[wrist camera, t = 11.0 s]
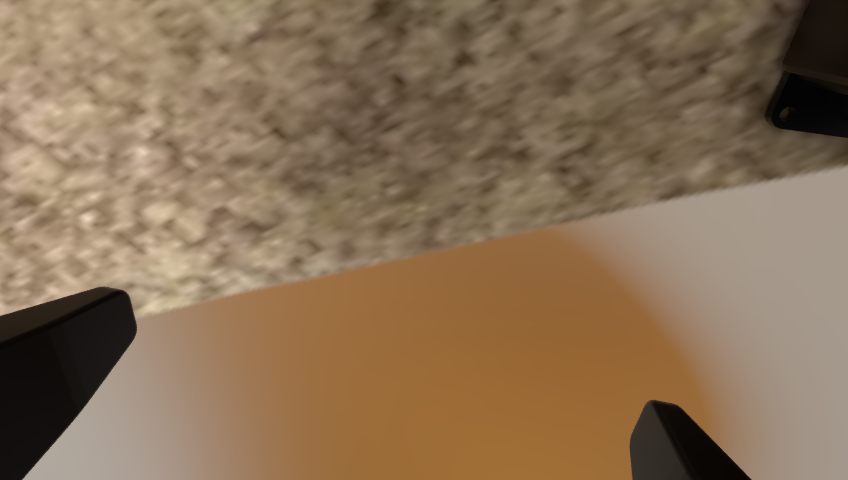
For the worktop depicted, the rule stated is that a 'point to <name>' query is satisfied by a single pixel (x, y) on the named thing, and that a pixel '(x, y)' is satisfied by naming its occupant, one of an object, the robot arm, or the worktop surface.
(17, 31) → the worktop surface
